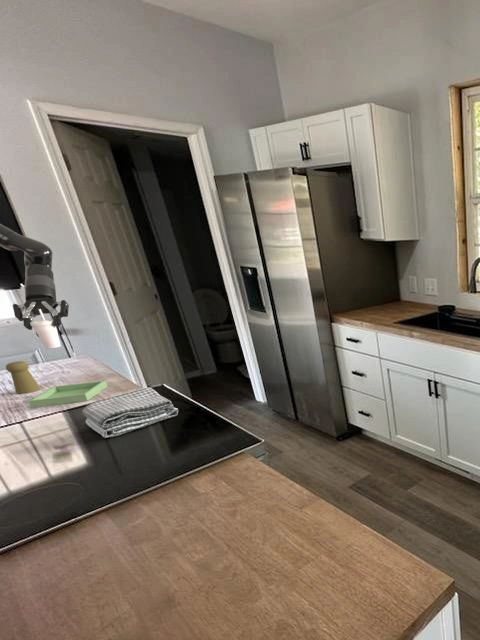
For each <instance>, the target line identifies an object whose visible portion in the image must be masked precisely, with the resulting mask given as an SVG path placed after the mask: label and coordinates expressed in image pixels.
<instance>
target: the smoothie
mask: <svg viewBox="0 0 480 640" xmlns="http://www.w3.org/2000/svg"><path fill="white" fill-rule="evenodd" d="M38 310H39V312H40V314H39V315H40V317H41V320H35V321H32V322H30V325H31V326H32V329H33V330H34V331H35V333H36V334H37V336H38V337H39V339H40V341H41V342H42V344H43V345H44V347H45V348H46V349H55V348H60V347H62V345H61V341H60V338H59V333H58V329H57V327H56V326H55V325H54V322H53V319H45V316H44V313H42V311H41V309H38Z"/></svg>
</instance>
